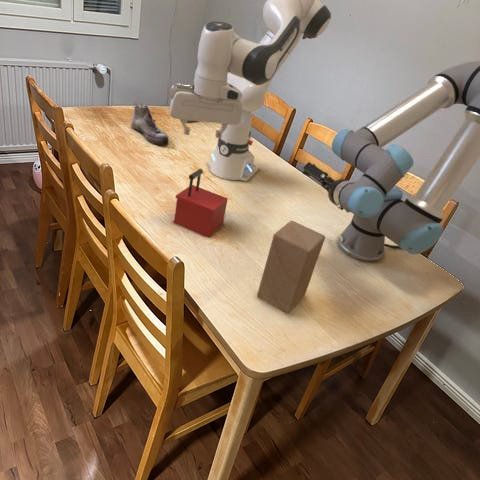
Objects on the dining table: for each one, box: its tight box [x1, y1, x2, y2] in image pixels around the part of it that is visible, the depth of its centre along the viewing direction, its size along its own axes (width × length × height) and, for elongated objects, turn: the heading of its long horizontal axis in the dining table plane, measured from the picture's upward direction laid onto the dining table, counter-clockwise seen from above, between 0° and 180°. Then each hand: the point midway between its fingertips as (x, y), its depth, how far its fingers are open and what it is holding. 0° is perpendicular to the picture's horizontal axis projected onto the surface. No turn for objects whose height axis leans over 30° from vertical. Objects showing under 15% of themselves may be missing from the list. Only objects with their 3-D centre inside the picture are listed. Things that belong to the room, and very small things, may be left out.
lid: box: [175, 168, 229, 212], centre depth 135 cm, size 13×10×8 cm
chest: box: [173, 198, 228, 238], centre depth 139 cm, size 13×10×9 cm
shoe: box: [130, 103, 169, 147], centre depth 193 cm, size 25×11×12 cm, turn 30°
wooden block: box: [256, 220, 326, 314], centre depth 113 cm, size 10×10×20 cm
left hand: (202, 135), depth 127 cm, fingers open, 8 cm apart
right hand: (320, 184), depth 140 cm, fingers open, 13 cm apart
